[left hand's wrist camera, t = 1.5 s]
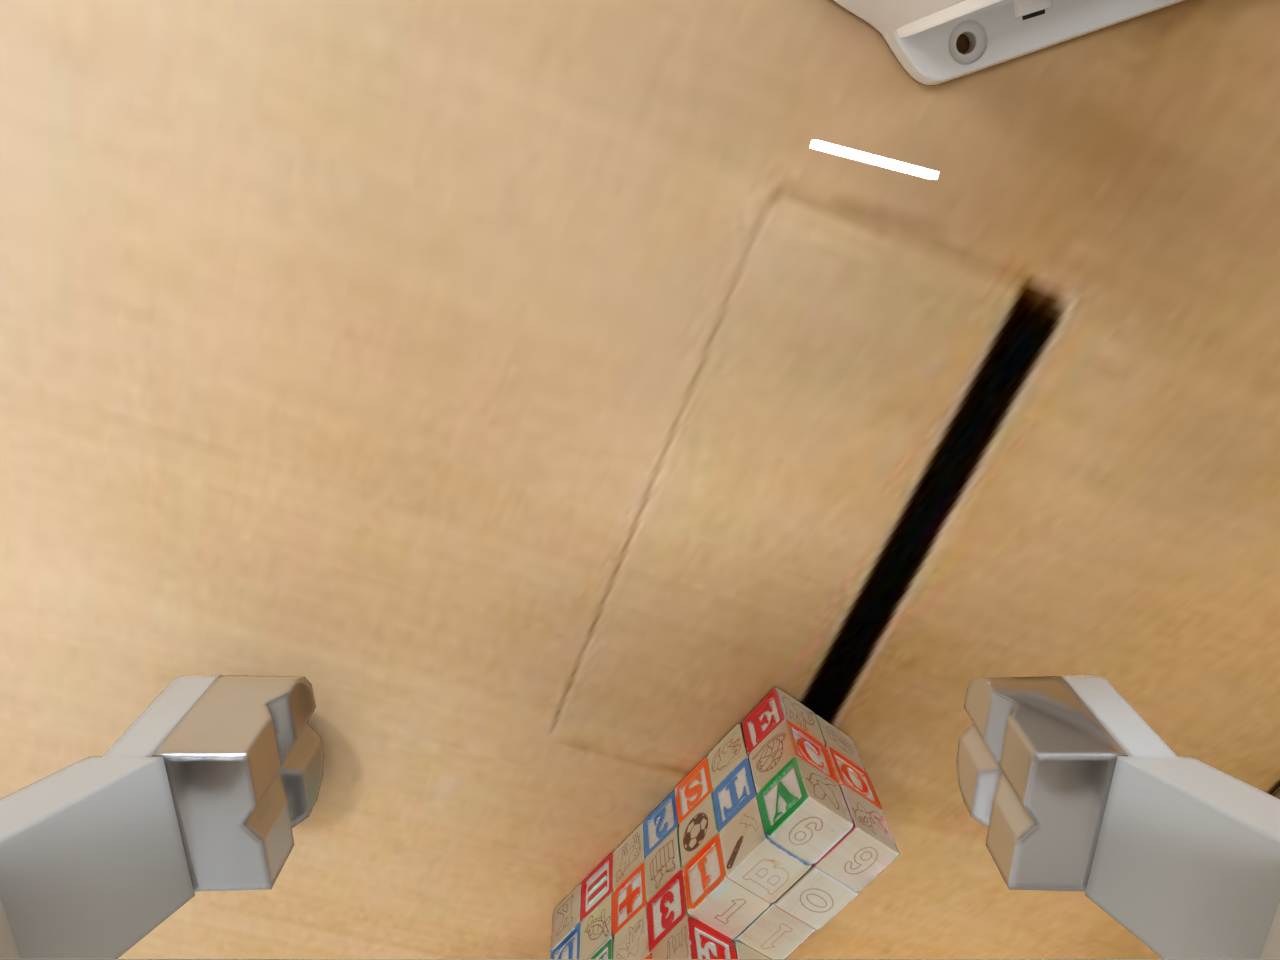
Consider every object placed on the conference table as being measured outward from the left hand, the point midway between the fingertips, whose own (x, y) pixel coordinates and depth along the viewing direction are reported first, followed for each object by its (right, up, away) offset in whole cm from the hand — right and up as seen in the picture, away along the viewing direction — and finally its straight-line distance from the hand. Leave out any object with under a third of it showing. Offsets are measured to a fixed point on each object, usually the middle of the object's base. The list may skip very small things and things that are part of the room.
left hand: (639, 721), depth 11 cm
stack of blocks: (+3, -18, +41) cm, 45 cm away
